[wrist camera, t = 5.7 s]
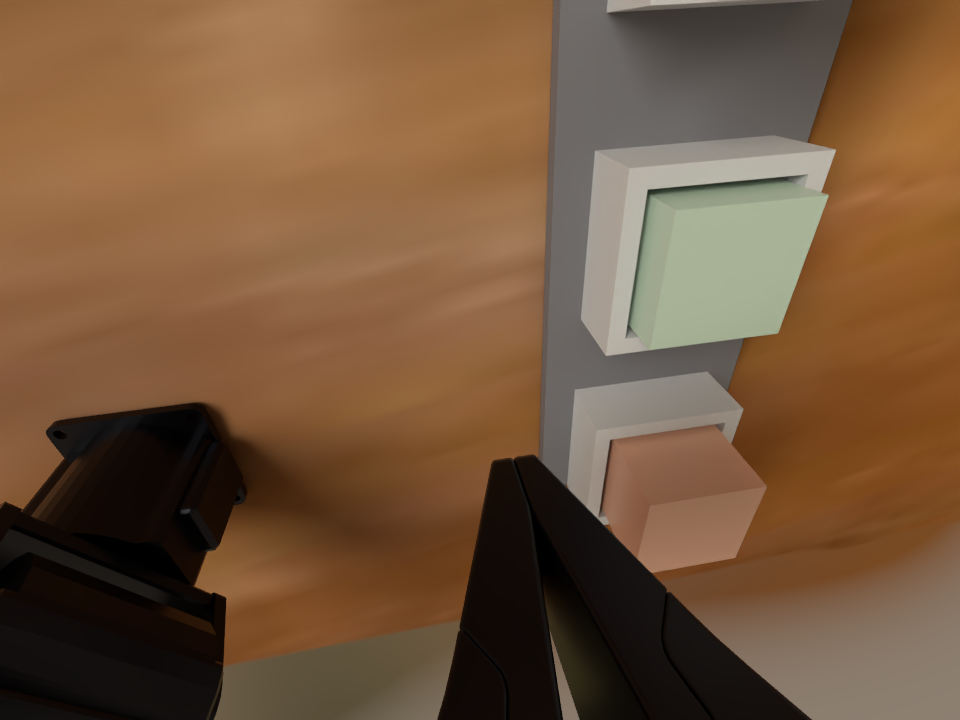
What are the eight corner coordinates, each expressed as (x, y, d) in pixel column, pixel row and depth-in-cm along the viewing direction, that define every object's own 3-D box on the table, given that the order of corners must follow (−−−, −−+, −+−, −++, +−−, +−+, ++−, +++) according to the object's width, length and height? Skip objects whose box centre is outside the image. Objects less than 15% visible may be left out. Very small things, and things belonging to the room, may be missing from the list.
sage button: (607, 300, 20) (649, 350, 17) (622, 179, 17) (675, 210, 14) (716, 287, 20) (778, 333, 17) (747, 167, 18) (828, 194, 14)
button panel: (538, 477, 27) (556, 532, 24) (564, -348, 11) (631, -504, 8) (697, 453, 28) (734, 502, 25) (937, -340, 12) (1128, -476, 9)
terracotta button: (600, 505, 24) (632, 576, 21) (611, 436, 22) (650, 505, 18) (690, 490, 25) (734, 557, 22) (712, 421, 22) (767, 486, 19)
